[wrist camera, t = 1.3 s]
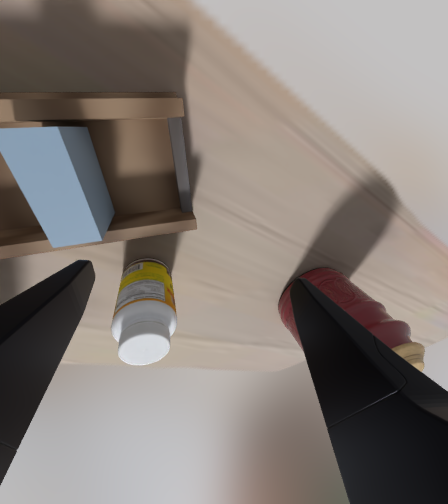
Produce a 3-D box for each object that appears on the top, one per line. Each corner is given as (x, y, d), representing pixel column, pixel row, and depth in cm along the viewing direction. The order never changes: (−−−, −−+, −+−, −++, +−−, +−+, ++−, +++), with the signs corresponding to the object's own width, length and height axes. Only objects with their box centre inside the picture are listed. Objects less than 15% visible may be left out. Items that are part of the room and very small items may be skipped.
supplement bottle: (164, 295, 27) (168, 371, 19) (117, 289, 25) (99, 373, 16) (177, 261, 25) (189, 328, 17) (128, 250, 23) (113, 323, 14)
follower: (86, 126, 15) (57, 126, 11) (115, 212, 19) (102, 240, 14) (40, 128, 15) (-13, 128, 10) (79, 216, 18) (53, 247, 14)
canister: (296, 262, 31) (421, 380, 16) (354, 268, 36) (490, 363, 21) (265, 323, 37) (338, 452, 22) (319, 321, 41) (408, 425, 27)
